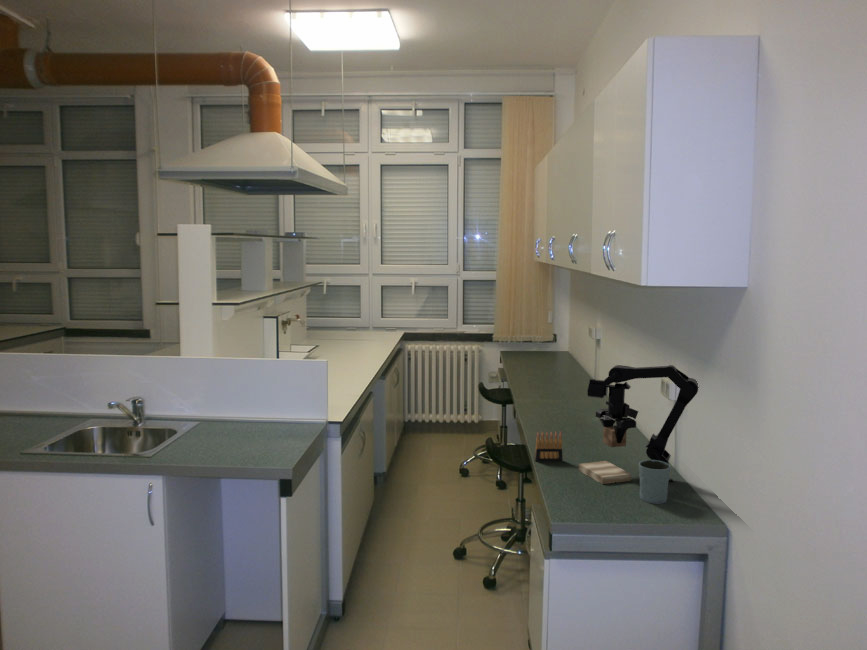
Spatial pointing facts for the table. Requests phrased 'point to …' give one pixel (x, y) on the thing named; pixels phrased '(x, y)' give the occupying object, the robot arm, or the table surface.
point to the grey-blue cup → (654, 481)
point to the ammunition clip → (548, 448)
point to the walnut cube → (612, 437)
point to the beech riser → (604, 472)
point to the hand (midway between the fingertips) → (614, 440)
